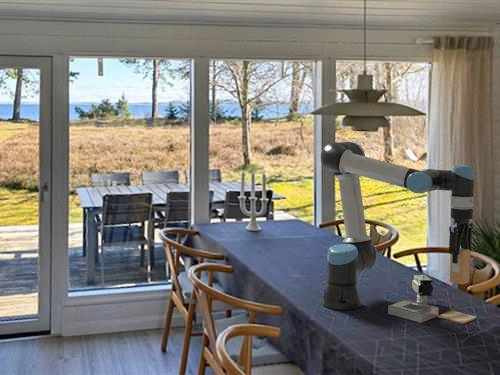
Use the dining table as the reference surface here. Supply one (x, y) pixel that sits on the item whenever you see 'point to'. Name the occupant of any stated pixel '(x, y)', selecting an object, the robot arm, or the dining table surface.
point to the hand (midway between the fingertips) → (459, 270)
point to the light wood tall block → (461, 268)
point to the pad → (457, 317)
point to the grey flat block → (413, 310)
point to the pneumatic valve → (422, 287)
